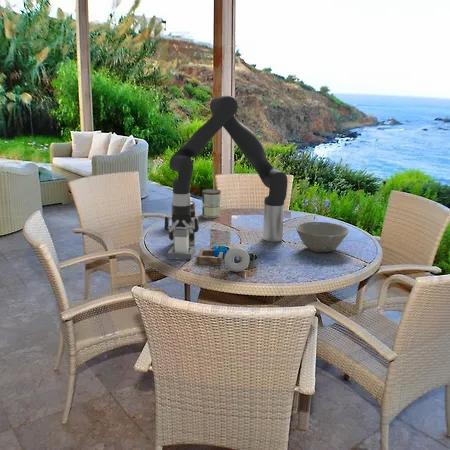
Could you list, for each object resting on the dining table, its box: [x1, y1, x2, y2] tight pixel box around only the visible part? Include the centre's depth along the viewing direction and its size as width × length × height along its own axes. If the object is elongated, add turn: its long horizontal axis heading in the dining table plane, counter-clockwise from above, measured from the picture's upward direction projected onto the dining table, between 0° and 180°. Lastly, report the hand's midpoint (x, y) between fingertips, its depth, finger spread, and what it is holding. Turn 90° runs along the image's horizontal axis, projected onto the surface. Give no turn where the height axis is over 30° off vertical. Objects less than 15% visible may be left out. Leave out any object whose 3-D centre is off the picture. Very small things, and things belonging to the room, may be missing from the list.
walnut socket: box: [196, 248, 224, 266], centre depth 207 cm, size 10×10×3 cm
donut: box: [223, 246, 251, 273], centre depth 194 cm, size 10×4×10 cm, turn 91°
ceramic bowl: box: [296, 221, 350, 253], centre depth 222 cm, size 22×23×10 cm
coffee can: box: [201, 188, 222, 219], centre depth 275 cm, size 10×10×14 cm
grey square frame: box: [167, 245, 196, 260], centre depth 212 cm, size 10×10×2 cm
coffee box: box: [172, 209, 196, 247], centre depth 225 cm, size 9×6×16 cm
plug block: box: [174, 227, 189, 253], centre depth 211 cm, size 5×5×12 cm
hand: (181, 240), depth 211 cm, fingers open, 8 cm apart
